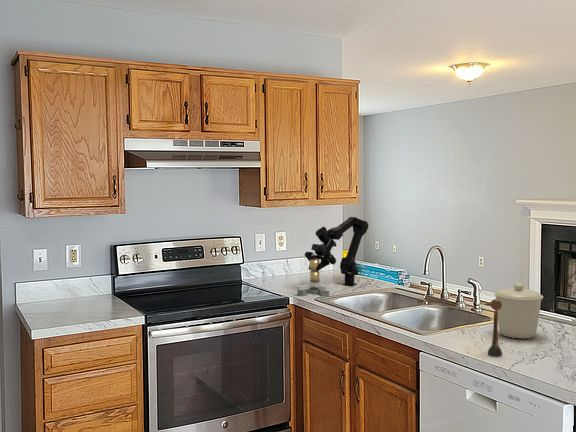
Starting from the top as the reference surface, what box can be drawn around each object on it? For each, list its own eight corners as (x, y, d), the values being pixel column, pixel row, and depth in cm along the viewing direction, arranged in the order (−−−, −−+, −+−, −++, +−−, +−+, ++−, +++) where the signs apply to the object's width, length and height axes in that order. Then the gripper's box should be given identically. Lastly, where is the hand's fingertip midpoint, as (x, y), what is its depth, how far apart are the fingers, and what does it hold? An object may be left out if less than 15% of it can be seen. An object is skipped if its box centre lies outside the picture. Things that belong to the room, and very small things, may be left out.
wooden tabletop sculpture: (483, 355, 214) (484, 299, 213) (486, 351, 218) (487, 296, 217) (500, 357, 211) (502, 300, 210) (503, 354, 215) (504, 298, 214)
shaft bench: (313, 290, 335) (313, 281, 334) (338, 294, 323) (338, 285, 323) (292, 294, 322) (292, 285, 321) (317, 299, 310) (317, 289, 310)
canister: (532, 344, 227) (534, 289, 226) (485, 336, 239) (487, 283, 238) (548, 335, 241) (550, 282, 240) (503, 327, 253) (504, 277, 251)
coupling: (310, 280, 331) (310, 259, 330) (319, 281, 330) (319, 259, 329) (309, 282, 326) (309, 260, 325) (318, 282, 325) (318, 260, 324)
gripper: (306, 237, 336) (293, 259, 328) (333, 239, 323) (319, 262, 316) (315, 249, 342) (302, 271, 335) (342, 252, 329) (329, 275, 322)
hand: (313, 270), depth 327 cm, fingers closed on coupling, 5 cm apart
